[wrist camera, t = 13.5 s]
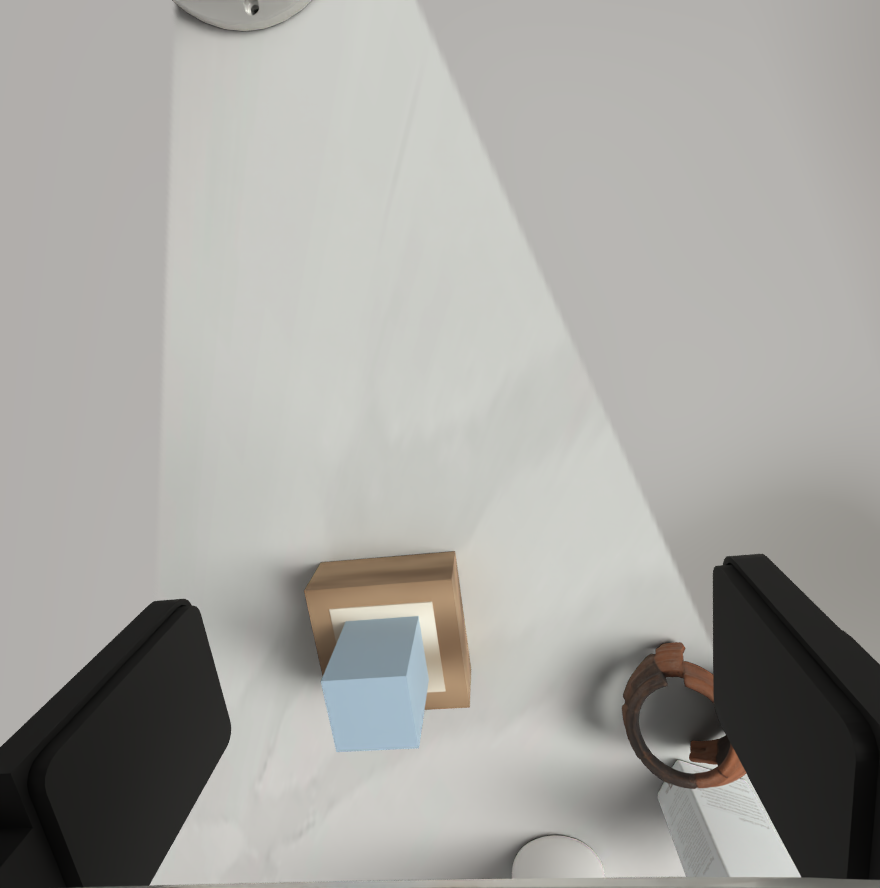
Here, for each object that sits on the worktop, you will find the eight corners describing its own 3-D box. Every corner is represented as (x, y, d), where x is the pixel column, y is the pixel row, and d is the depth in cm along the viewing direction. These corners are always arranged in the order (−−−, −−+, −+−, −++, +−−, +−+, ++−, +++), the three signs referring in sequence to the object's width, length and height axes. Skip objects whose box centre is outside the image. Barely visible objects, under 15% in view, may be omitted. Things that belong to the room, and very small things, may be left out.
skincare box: (654, 796, 45) (712, 973, 34) (677, 753, 44) (745, 922, 32) (727, 818, 45) (810, 1003, 34) (752, 776, 44) (847, 954, 32)
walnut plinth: (320, 562, 42) (303, 591, 38) (455, 551, 41) (451, 580, 37) (344, 677, 45) (330, 715, 41) (471, 669, 43) (469, 708, 40)
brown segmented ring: (659, 761, 45) (641, 814, 38) (617, 640, 47) (593, 669, 40) (830, 743, 40) (846, 801, 33) (775, 608, 42) (779, 635, 35)
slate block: (345, 621, 38) (320, 681, 33) (418, 615, 38) (406, 675, 32) (358, 683, 40) (336, 751, 34) (428, 679, 39) (418, 748, 33)
